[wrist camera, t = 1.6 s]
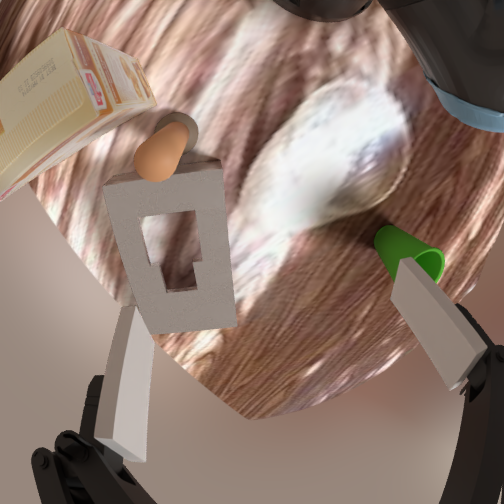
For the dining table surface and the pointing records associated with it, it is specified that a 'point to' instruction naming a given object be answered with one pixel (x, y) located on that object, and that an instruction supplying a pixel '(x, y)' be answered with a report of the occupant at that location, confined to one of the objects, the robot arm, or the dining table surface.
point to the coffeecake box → (64, 103)
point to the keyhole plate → (206, 268)
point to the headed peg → (166, 147)
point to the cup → (407, 252)
